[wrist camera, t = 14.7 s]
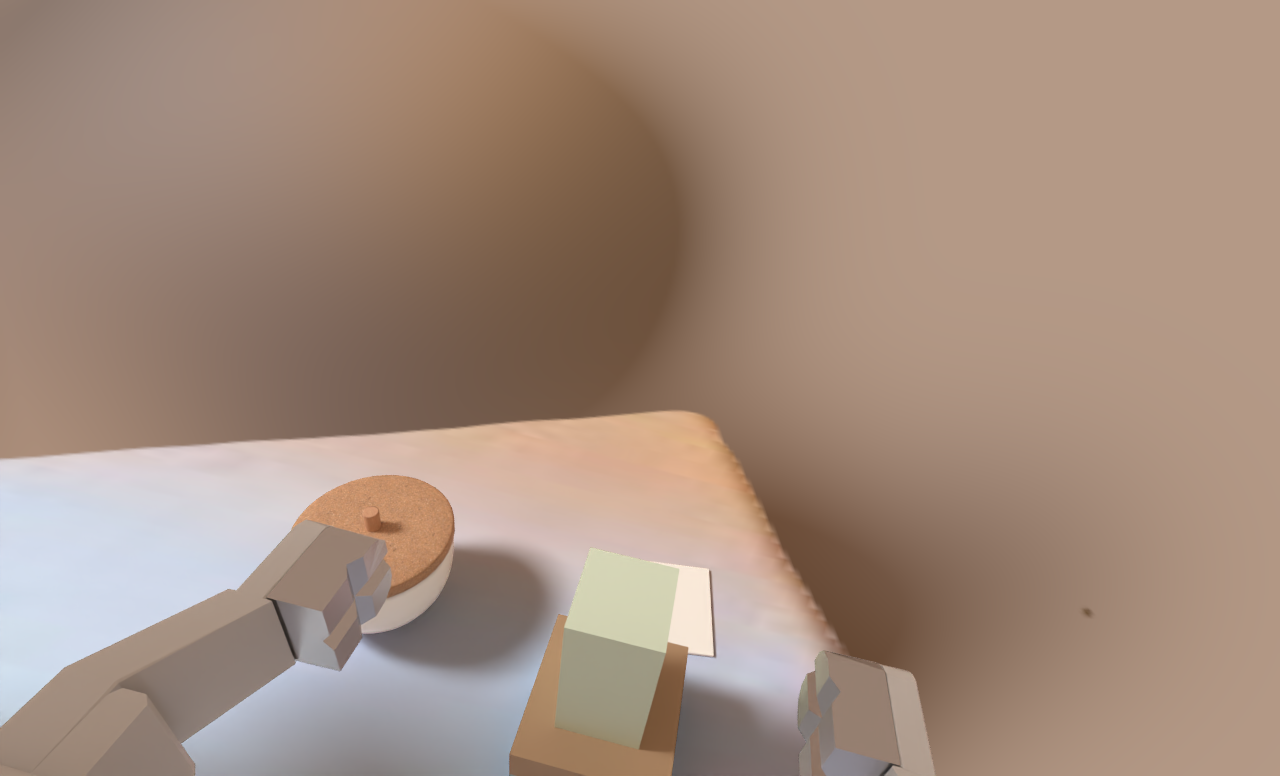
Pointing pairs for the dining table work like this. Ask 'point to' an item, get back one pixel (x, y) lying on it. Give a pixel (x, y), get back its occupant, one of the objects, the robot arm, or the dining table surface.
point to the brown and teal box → (582, 765)
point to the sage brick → (614, 647)
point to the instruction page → (692, 611)
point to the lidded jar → (396, 538)
